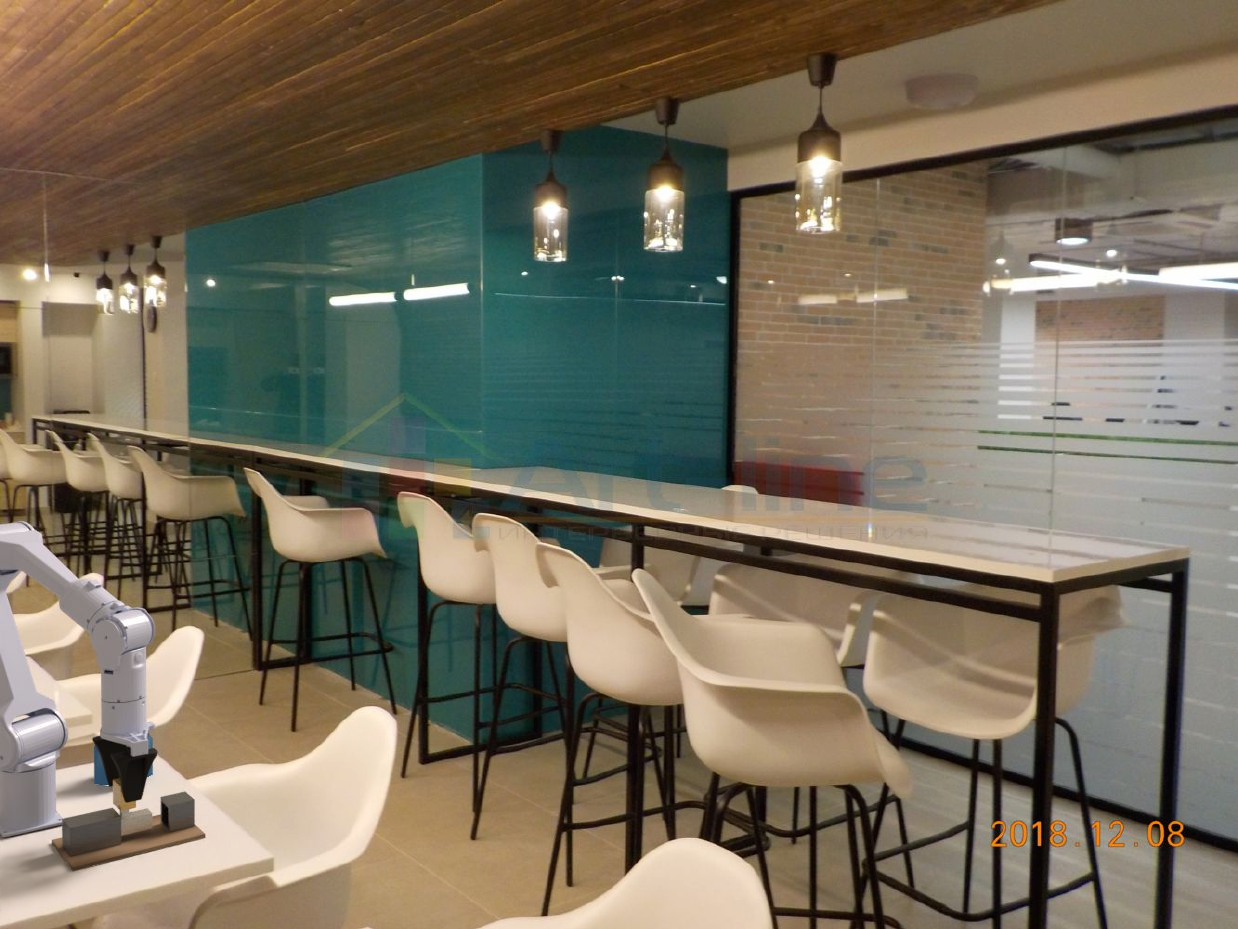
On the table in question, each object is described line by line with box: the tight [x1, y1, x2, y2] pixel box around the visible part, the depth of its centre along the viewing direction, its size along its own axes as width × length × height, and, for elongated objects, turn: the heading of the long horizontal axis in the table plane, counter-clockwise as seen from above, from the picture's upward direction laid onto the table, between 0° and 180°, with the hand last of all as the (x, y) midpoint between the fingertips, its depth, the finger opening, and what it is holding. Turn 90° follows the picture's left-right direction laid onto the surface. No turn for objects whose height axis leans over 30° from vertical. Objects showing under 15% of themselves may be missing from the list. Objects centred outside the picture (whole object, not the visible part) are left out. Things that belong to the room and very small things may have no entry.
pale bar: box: [112, 778, 153, 836], centre depth 146 cm, size 4×10×7 cm, turn 131°
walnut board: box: [51, 813, 206, 872], centre depth 148 cm, size 11×17×1 cm, turn 131°
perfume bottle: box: [93, 732, 154, 786], centre depth 171 cm, size 6×6×12 cm
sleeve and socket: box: [61, 791, 196, 857], centre depth 148 cm, size 4×16×4 cm, turn 131°
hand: (124, 792), depth 147 cm, fingers open, 7 cm apart
